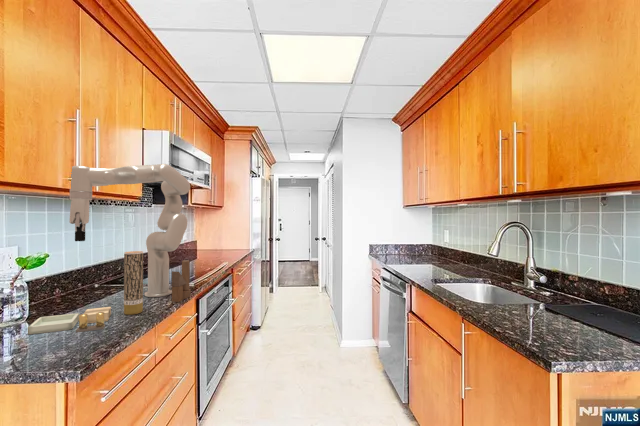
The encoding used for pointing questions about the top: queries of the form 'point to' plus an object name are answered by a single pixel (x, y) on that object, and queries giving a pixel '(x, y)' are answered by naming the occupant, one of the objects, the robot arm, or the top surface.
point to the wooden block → (181, 283)
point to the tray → (53, 323)
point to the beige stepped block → (92, 312)
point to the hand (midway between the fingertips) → (80, 241)
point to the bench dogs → (98, 326)
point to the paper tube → (133, 282)
